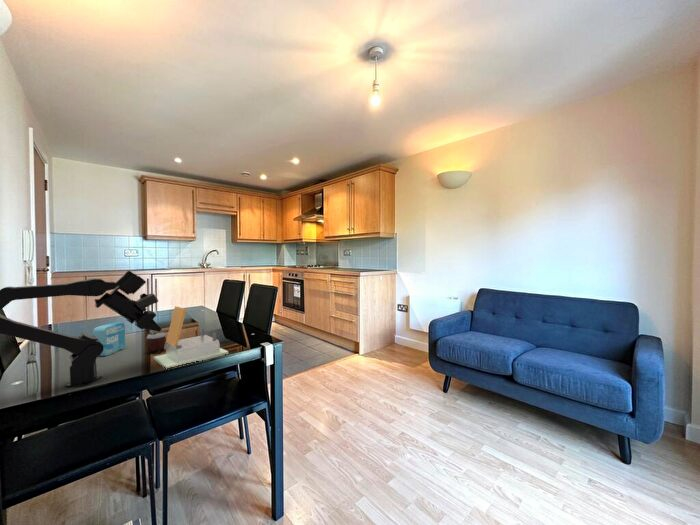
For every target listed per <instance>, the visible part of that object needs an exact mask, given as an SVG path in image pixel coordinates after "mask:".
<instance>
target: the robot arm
mask: <svg viewBox="0 0 700 525" xmlns="http://www.w3.org/2000/svg"><path fill="white" fill-rule="evenodd" d="M146 283H147V281H146V280H145V279H143V278H142V277H141V276H140V275H138V274H135V273H133V272H132V271H131V270H126V272H125V273H124V274H123V275H122V276H121V277H120V278H118V280H117V281H105V280H104V279H102V278H97V277H94V278H87V279H82V280H77V281H73V282H68V283H57V284H56V283H55V284H40V285H38V284H37V285H27V286H25V285H24V286H5V287H2V288H1V289H0V311H1V310H2V309H4V308H5V307H6V306H7V305H8V304H10V303H11V302H13V301H19V300H30V299H39V298H40V299H42V298H55V297H62V296H78V297H100V296H101V297H100V298H95V299H93V301H94V307H95V308H97V309H99V308H100V307H101V306H102V305H104V306H105V307H107V308H109V309H110V310H112V311H113V312H115V313H117V314H118V315H120V316H121V317H123V318H124V319H126V321H127V322H129V323H130V324H134V325H135V327H137V328H138V329H140V330H147V331H148V330H149V331H150V330H152V331H154V332H155V331H156V332H162V327H160V325H158V323H157V322H156V321H155V320H154V319H155V318H156V316H157V314H156V313H155V312H154V311H153V310H148V309H147V308H148V307H150V306H151V305H153V304H157V303H158V302H159V299H158V298H157V296H156V294H155V293H148V294H147V293H145V292H144V293H141V294H139V298H138V299H137V300H133V299H130V297H128V296H129V295H135V293H137V291H138V290H140V289H141V288H142V287H143V286H144V285H145V284H146ZM108 291H111V292H109V293H108ZM122 292H123V293H124V294H123V293H122ZM125 294H126V295H127V296H126V295H125ZM0 335H5V336H9V337H14V338H18V339H22V340H27V341H30V342H33V343H39V344H43V345H46V346H52V347H56V348H59V349H63V350H66V351H67V352H69V353H71V355H69V361H70V363H71V365H70V366H69V382H68V383H66V384H65V385H64V387H65V388H69V387H72V388H73V387H84V386H89V385H91V384H93V383H95V382H97V381H98V380H100V379H101V378H102V375H99V376H98V375H97V371H98V370H97V358H98V357H100V356H99V355H101V353H102V352H103V344H102V343H101V342H100V341H99V340H98V339H97V337H96V336H93V335H89V334H87V333H84V332H80V334H79V336H77V335H68V334H65V333H63V332H62V333H61V332H57V331H54V330H50V329H46V328H43V327H38V326H36V325H35V326H34V325H31V324H29V323H28V324H27V323H24V322H21V321H16V320H13V319H11V318H9V317H7V316H5V315H3V314H1V313H0Z"/></svg>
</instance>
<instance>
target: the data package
mask: <svg viewBox="0 0 700 525" xmlns="http://www.w3.org/2000/svg"><path fill="white" fill-rule="evenodd" d="M125 328H126V326H125V322H122V321H120V322H110V323H106V324H103V325H99V326H97V327H94V329H93V335H92V336H96V337H97V339H98V340H99V341H100V342H101V343H102V344H103V352H102V353H101V355H99V356H98V357H107V355H108V356H110V355H112V354H111V353H113V352H115V351H117V352H119V351H118V350H120V349H122V348H124V349H125V347H126V333H125V332H126V331H125V330H126V329H125ZM122 350H123V349H122ZM120 351H121V350H120ZM115 353H116V352H115ZM109 354H110V355H109ZM113 354H114V353H113Z"/></svg>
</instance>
